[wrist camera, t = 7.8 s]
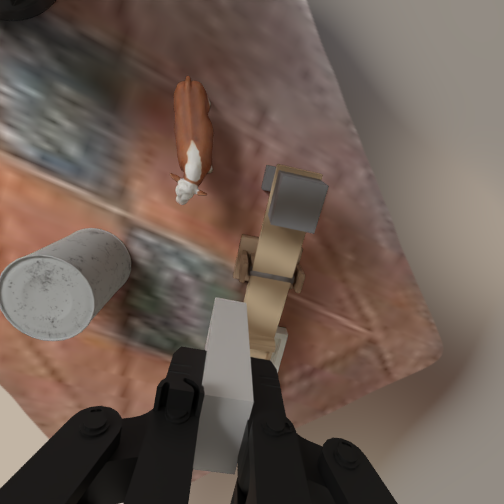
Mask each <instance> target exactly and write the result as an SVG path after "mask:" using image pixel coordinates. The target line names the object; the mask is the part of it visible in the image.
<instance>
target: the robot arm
mask: <svg viewBox="0 0 504 504" xmlns="http://www.w3.org/2000/svg"><path fill="white" fill-rule="evenodd" d="M55 1H56V0H0V19H1V20H23V19H28V18H31V17H34V16H36V15H38V14H40V13H42V12H43V11H45V10H46V9H47V8H49V7H50V6H51V5H52V4H53V3H54V2H55ZM278 379H279V378H278V373H277V369H276V367H275V366H274V365H273V363H272V362H271V361H270V360H266V359H260V358H254V357H250V345H249V332H248V318H247V304H246V303H244V302H238V301H233V300H227V299H222V298H215V302H214V307H213V312H212V317H211V322H210V327H209V332H208V336H207V341H206V346H205V350H199V349H193V348H187V347H180V348H179V349H178V350H177V351H176V352H175V353H174V354H173V357H172V360H171V364H170V367H169V370H168V373H167V376H166V378H165V379H163V380H162V381H161V382H160V383H159V385H158V386H157V391H156V397H155V403H154V408H153V409H152V410H151V411H149V412H148V413H146V414H143V415H141V416H137V417H132V418H124V419H122V418H121V416H120V415H119V413H118V412H117V411H115V410H114V409H112V408H110V407H104V406H96V407H89V408H87V409H84V410H81V411H79V412H78V413H77V414H75V415H74V416H73V417H71V418H70V419H69V420H68V421H67V422H66V423H65V424H64V425H63V426H62V427H61V428H60V429H59V430H58V431H57V432H56V433H55V434H54V435H53V436H52V437H51V438H50V439H49V440H48V442H46V443H45V444H44V445H43V446H42V447H41V448H40V449H39V450H38V451H37V453H35V455H34V456H32V457H31V458H30V459H29V460H28V461H27V462H26V464H24V465H23V467H21V469H19V471H17V472H16V473H15V474H14V476H12V477H11V478H10V480H8V482H7V483H5V484H4V485H3V486H2V487H1V488H0V504H119V503H124V504H188V501H189V494H190V486H191V479H192V471H193V469H195V470H203V471H211V472H220V473H227V474H235V470H236V467H237V463H238V478H237V481H236V485H235V489H234V492H233V497H232V500H231V504H397V502H396V501H395V499H394V498H393V496H392V495H391V493H390V492H389V490H388V489H387V487H386V486H385V484H384V483H383V482H382V480H381V478H380V477H379V475H378V474H377V472H376V471H375V469H374V468H373V466H372V465H371V463H370V462H369V460H368V459H367V457H366V456H365V455H364V453H363V452H362V451H361V450H360V449H359V448H358V447H357V446H355V445H354V444H352V443H351V442H349V441H347V440H344V439H341V438H331V439H328V440H327V441H326V442H325V443H324V444H323V447H322V446H320V445H318V444H315V443H313V442H310V441H308V440H306V439H304V438H302V437H301V436H299V435H298V434H297V433H296V430H295V428H294V425H293V424H292V422H291V421H290V420H289V419H288V418H287V417H286V414H285V409H284V404H283V399H282V394H281V389H280V383H279V380H278Z"/></svg>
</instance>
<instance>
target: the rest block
mask: <svg viewBox="0 0 504 504" xmlns="http://www.w3.org/2000/svg"><path fill="white" fill-rule="evenodd" d="M275 171H276V167H274V166H269V165H266V169H265V174H264V178H263V183H262V187H261V188H262V189H263V190H266V191H271V187H272V183H273V179H274V175H275Z"/></svg>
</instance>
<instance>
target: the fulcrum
mask: <svg viewBox="0 0 504 504" xmlns="http://www.w3.org/2000/svg"><path fill="white" fill-rule="evenodd" d="M258 240H259V237H255V236H250V235H245V234H242V236H241V241H240V245H239V250H238V255H237V259H236V264H235V269H234V273H233V278H236V279H239V282H242V283H244V281H245V280H246V281H249V277H250V276H248V271H249V267H250V266H252V265H253V261H254V257H255V253H256V249H257V244H258ZM302 251H303V248H302V247H301V250H300V253H299V257H298V260H297V264H296V267H295V270H294V275H295V279H294V283H293V284H290V287H289V289H292V287H293V288H294V290H295V292H296V293H301V289H302V286H303V282H304V278H305V274H304V272H303V270H302V269H301V267H300V265H299V262H300V258H301V254H302Z"/></svg>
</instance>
